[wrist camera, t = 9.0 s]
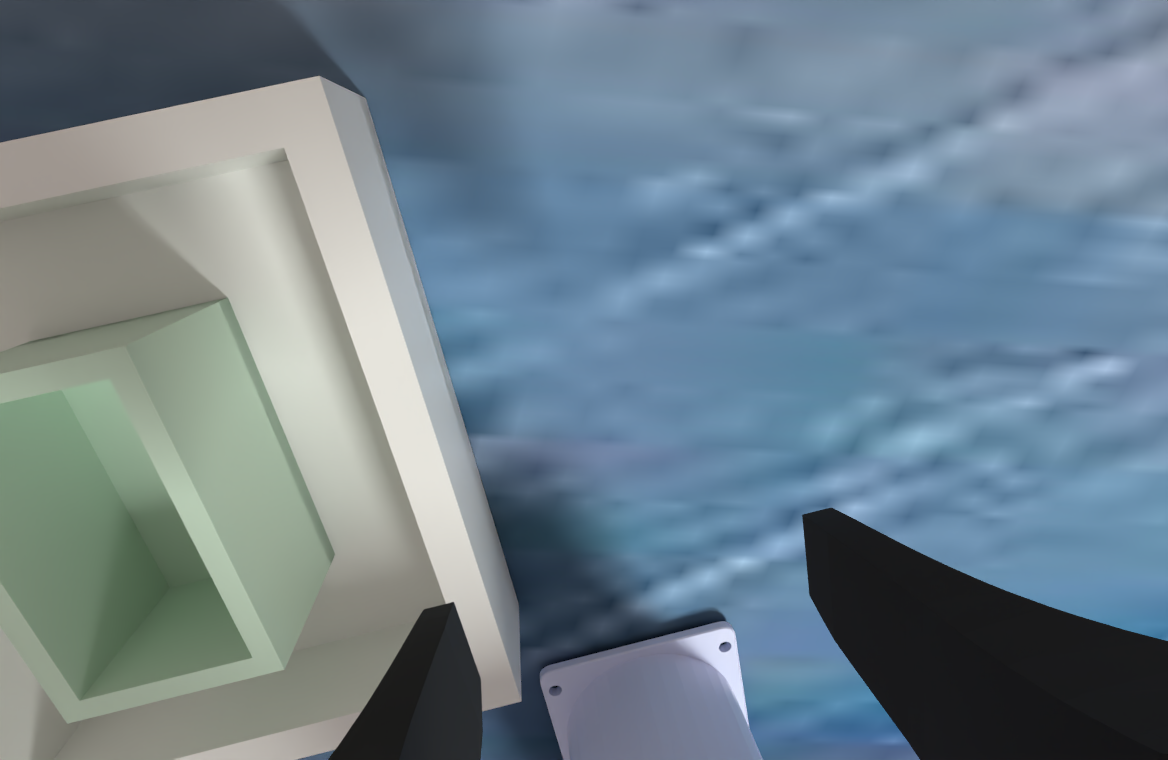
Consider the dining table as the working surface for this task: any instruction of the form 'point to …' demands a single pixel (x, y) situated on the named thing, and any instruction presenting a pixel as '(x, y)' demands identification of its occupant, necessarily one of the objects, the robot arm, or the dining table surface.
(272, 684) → the white crate
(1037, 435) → the dining table surface
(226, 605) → the green crate
